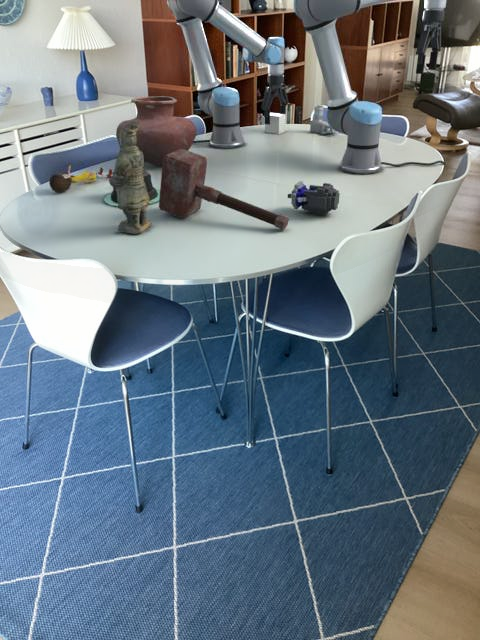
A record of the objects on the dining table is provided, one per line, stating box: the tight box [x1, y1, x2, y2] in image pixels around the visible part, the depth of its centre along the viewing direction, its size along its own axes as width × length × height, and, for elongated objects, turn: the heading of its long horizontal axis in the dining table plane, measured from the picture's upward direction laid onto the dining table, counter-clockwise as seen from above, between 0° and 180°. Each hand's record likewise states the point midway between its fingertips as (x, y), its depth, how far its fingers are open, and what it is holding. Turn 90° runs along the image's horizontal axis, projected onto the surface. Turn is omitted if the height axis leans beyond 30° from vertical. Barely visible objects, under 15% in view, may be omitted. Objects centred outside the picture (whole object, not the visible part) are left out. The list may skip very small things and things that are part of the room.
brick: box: [264, 112, 287, 135], centre depth 270 cm, size 6×8×8 cm
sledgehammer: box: [158, 149, 290, 231], centre depth 163 cm, size 17×10×40 cm
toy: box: [287, 180, 341, 216], centre depth 168 cm, size 9×9×15 cm
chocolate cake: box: [103, 168, 160, 207], centre depth 186 cm, size 15×19×20 cm
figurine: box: [48, 164, 113, 193], centre depth 199 cm, size 13×8×25 cm
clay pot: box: [115, 95, 197, 166], centre depth 218 cm, size 30×30×25 cm
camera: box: [309, 105, 337, 135], centre depth 263 cm, size 9×12×15 cm
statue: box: [108, 121, 153, 235], centre depth 154 cm, size 11×9×30 cm
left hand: (275, 121), depth 269 cm, fingers open, 13 cm apart
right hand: (425, 71), depth 216 cm, fingers open, 13 cm apart
